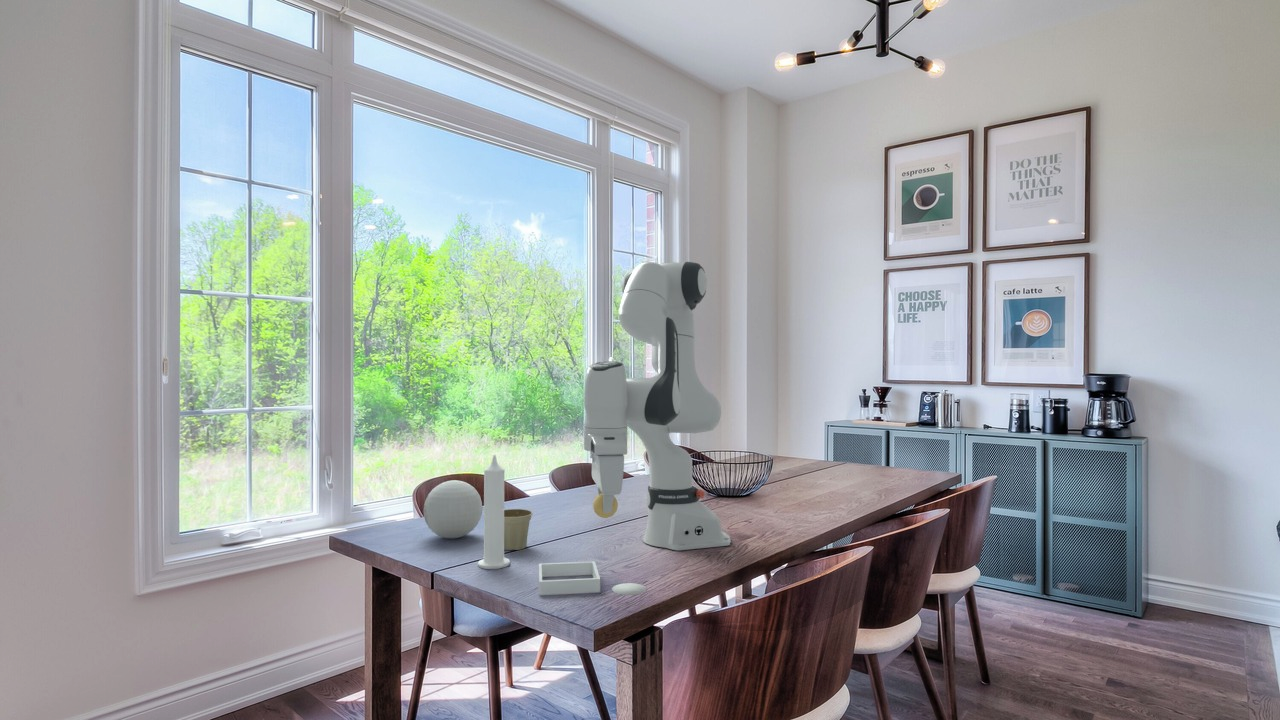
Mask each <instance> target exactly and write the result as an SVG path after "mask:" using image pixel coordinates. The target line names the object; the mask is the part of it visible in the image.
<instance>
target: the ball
mask: <svg viewBox="0 0 1280 720" xmlns="http://www.w3.org/2000/svg"><path fill="white" fill-rule="evenodd" d="M592 506H593V510H594V513H595V515H597V516H598V517H600V518H604V519H608V518H610V517H613V516H614V515H615V514H616V513H617V510H618V507H619V503H618V500H617V498H616V497H615V496H614V499H613V504H612V512H611V513H604V512H603V494H602V493H601V494H599V495H598V494H597V496H596V497H595V498H594V500H593V504H592Z"/></svg>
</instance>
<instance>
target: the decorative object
mask: <svg viewBox="0 0 1280 720" xmlns="http://www.w3.org/2000/svg"><path fill="white" fill-rule="evenodd" d="M482 515H483V501H482V499H481V495H480V494H479V492H478V491H477V489H476V488H475V487H474V486H472V485H471V484H469V483H468V482H465V481H462V480H456V479H454V480H453V479H452V480H447V481H443V482H442V483H439V484H438V485H436V486H435V487H434V488H432V490H430V492H429V493H428V495H427V497H426V498H425V501H424V504H423V518H424V522H425V524H426V526H427V527H428V529H430V530H431V532H432V533H434V534H435V535H437V536H438V537H441V538H444V539H457V538H462V537H464V536H466V535H468V534H469V533H471V532H472V531H473V530H474V529H475V528H476V527H477V525H478V524H479V522H480V521H481V517H482Z"/></svg>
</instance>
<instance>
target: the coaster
mask: <svg viewBox="0 0 1280 720" xmlns="http://www.w3.org/2000/svg"><path fill="white" fill-rule="evenodd" d="M611 591H612V592H614V593H615V594H618V595H622V596H623V595H624V596H625V595H626V596H634V595H641V594H643V593H646V592H647V587H646V585H643V584H640V583H635V582H627V583H626V582H623V583H619V584H615V585H614V586H613V587H612V588H611Z"/></svg>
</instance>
